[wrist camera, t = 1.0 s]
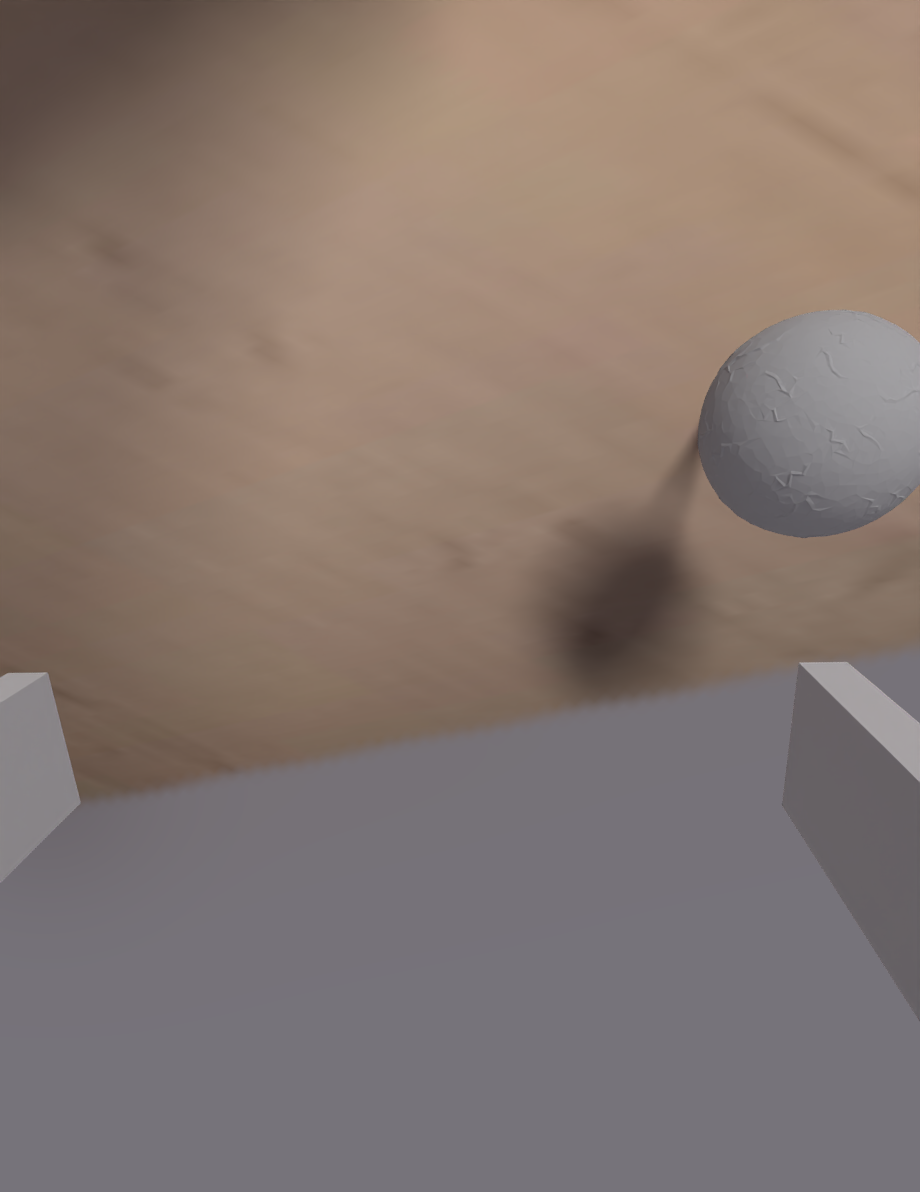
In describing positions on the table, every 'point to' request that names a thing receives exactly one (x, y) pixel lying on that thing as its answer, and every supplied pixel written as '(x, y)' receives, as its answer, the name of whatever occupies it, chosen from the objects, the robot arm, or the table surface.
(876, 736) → the robot arm
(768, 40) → the table surface
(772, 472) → the lollipop
